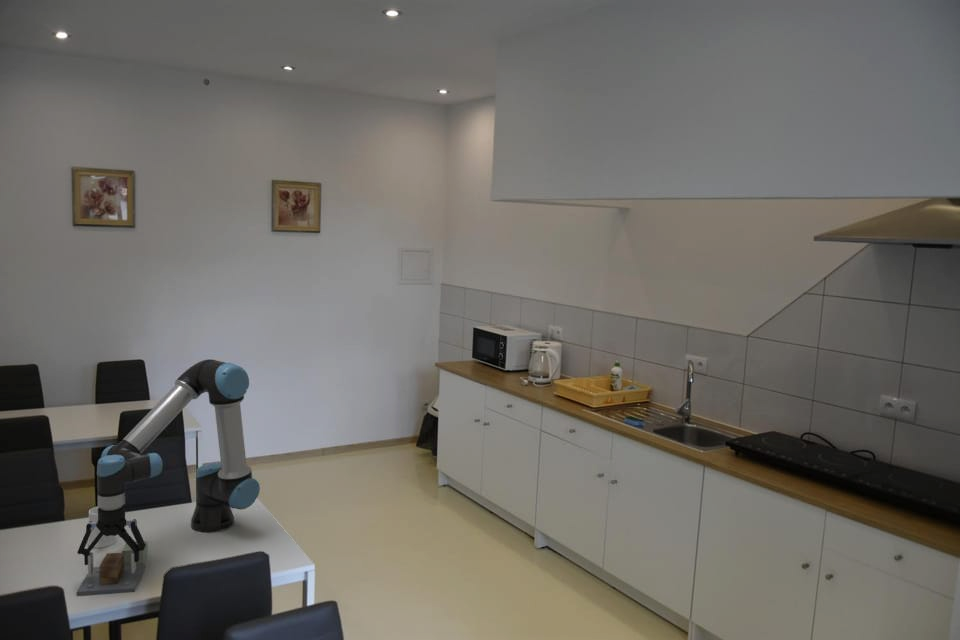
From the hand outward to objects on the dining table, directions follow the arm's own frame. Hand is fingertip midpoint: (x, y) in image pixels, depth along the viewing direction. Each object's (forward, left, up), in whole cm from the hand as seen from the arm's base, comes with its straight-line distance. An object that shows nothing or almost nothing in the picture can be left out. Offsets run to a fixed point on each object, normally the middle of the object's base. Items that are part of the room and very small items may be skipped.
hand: (112, 572), depth 222 cm
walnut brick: (0, 0, -1) cm, 1 cm away
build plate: (0, 0, -3) cm, 3 cm away
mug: (+10, -28, -3) cm, 30 cm away
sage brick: (-4, -12, -3) cm, 13 cm away
